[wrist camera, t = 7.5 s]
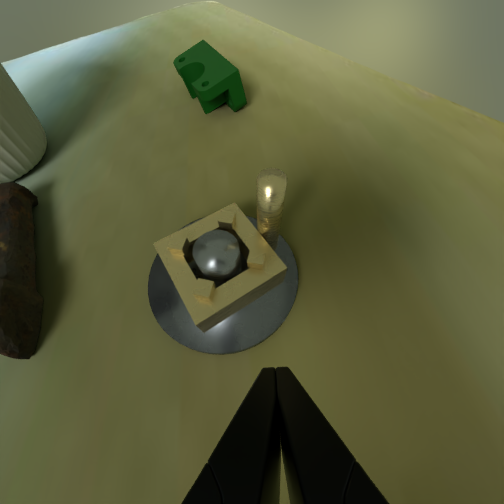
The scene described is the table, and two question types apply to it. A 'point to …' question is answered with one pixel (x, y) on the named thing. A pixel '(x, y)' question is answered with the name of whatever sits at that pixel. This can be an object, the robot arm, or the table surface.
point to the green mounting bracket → (210, 78)
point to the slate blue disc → (220, 271)
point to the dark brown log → (18, 273)
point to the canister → (17, 132)
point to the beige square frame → (251, 246)
